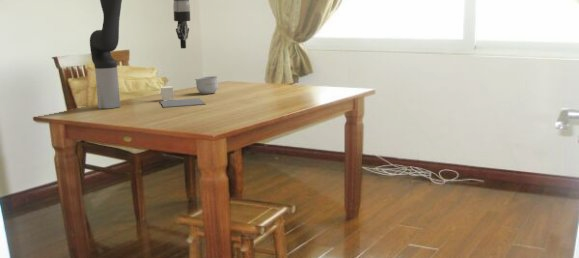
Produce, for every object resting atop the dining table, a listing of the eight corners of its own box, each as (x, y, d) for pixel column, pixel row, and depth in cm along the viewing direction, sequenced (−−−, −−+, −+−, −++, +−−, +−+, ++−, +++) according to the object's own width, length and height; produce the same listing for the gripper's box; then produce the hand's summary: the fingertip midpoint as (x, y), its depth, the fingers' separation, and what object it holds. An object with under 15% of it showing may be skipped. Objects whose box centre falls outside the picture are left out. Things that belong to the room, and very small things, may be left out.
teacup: (207, 95, 290) (206, 78, 288) (191, 94, 296) (190, 77, 294) (227, 91, 300) (226, 75, 299) (211, 90, 307) (210, 74, 305)
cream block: (162, 101, 276) (161, 88, 275) (161, 99, 281) (160, 86, 279) (173, 100, 277) (172, 87, 276) (172, 98, 282) (171, 86, 281)
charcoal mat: (163, 107, 256) (163, 106, 256) (159, 101, 273) (159, 101, 273) (205, 104, 261) (205, 103, 261) (199, 99, 278) (199, 98, 278)
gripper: (178, 11, 286) (180, 47, 289) (169, 10, 273) (171, 49, 276) (193, 10, 285) (195, 47, 288) (185, 10, 272) (186, 49, 275)
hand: (183, 48), depth 282 cm, fingers closed
